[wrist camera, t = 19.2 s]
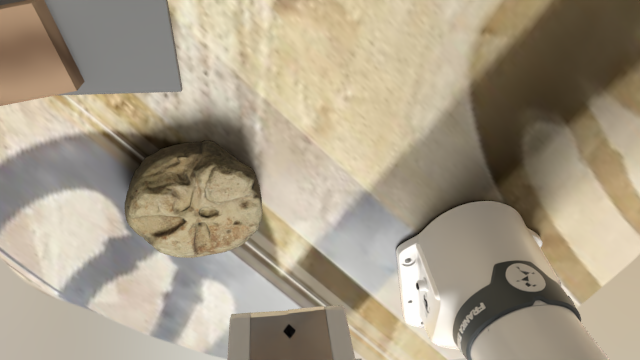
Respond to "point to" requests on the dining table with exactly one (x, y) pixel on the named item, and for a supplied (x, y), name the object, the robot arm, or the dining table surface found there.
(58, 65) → the walnut block
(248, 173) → the stone
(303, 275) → the dining table surface
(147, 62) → the mat
